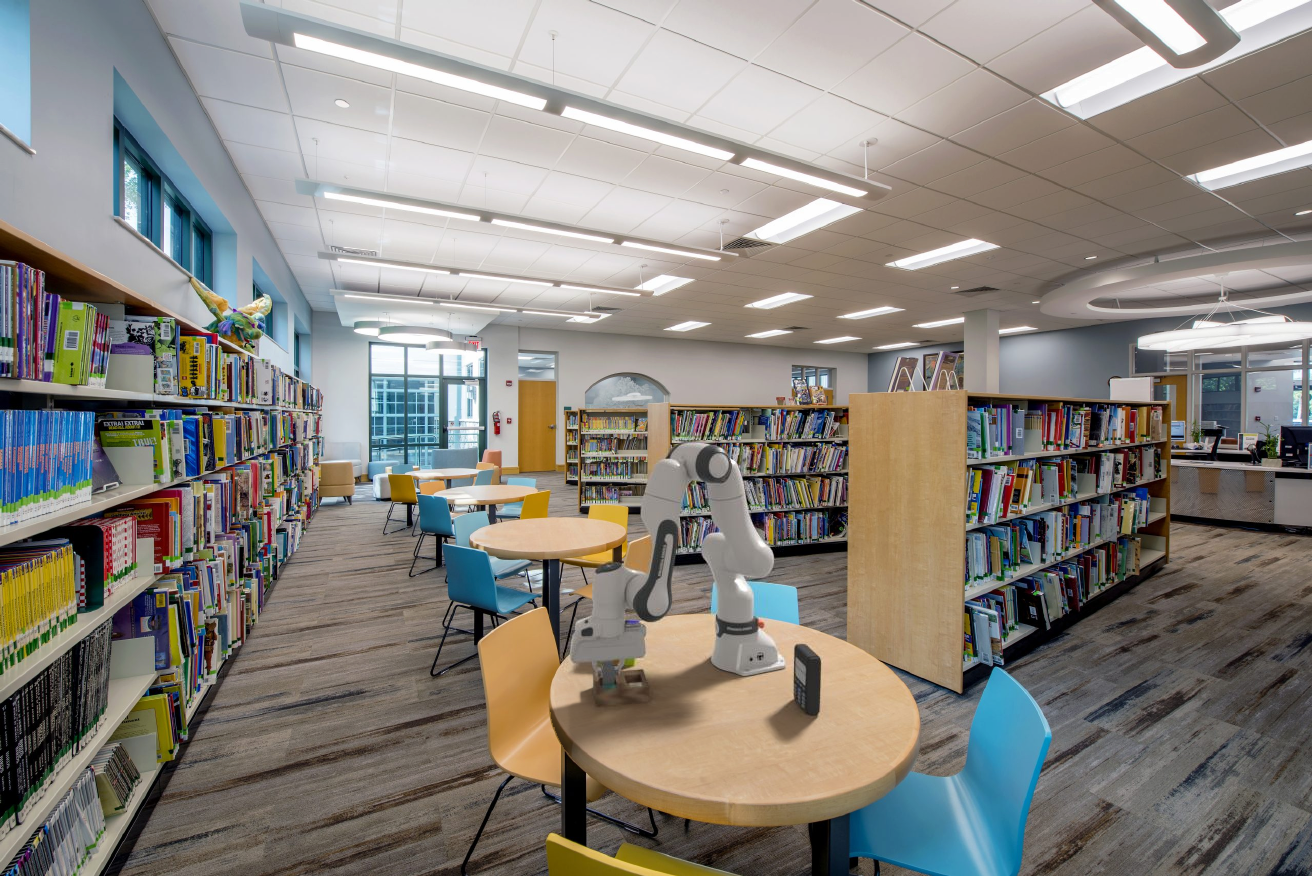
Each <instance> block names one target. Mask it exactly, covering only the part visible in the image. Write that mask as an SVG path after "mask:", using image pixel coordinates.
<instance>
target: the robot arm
mask: <svg viewBox="0 0 1312 876" xmlns="http://www.w3.org/2000/svg"><path fill="white" fill-rule="evenodd" d="M741 473H742V472H741V471H740V467H739V465H738V463H737V462H736V461H735V460H734V459H732V458H730V455H729V454H728V452H727V451H726V450H725V449H723V448H722V447H720V446H718V445H715V444H708V443H703V442H690V441H689V442H687V441H684V442H679V443H676V444H675V445H674V446H672V447H671V449H670V450H669V451H668V453H667V455H666V456H665V458H663V459H661V460H658V461H657V462H656V463H655V464H654V466H653V469H652V470H651V472H650V476H649V478H648V480H647V483H646V485H645V490H644V494H643V496H642V500H641V506H640V518H641V521H642V522H643V525H644V526H645V527H646V529H647V531H648V533H649V536H650V538H651V542H652V543H651V544H652V547H651V549H652V550H651V555H650V562H649V567H648V572H647V573H646V572H644V571H642V570H641V571H640V570H635V569H632V568H628V567H627V566H624V565H623V564H622V563H621V562H616V561H613V562H612V561H610V562H605V563H603V564H601V565H598V566H597V568H595V570H594V574H593V576H592V586H591V587H592V588H591V600H592V602H593V603H592V605H593V606H592V611H591V615H589V616H587V617H585V618H581V619H578V620H577V621H576V622H575V626H574V631H575V632H574V633H572V637H571V642H570V648H569V649H570V650H569V651H570V652H569V657H570V658H569V660H570V661H571V662H572V663H573V664H579V663H583V664H584V663H591V666H592V668H593V669H594V671H595V673H596V677H601V673H602V667H598V662H602V661H608V660H619V664H618V665H615V675H620V671H621V670H622V669H623V667H624V666H625V665H624V663H625V659H633V658H637V659H642V658H644V657H645V655H646V654H647V652H646V651H647V650H646V649H647V647H646V640H645V638H646V636H647V626H646V625H645V624H643V623H642V622H640V621H639V622H636V623H625V620H626V610H627V609H632V611H634V612H635V614H636V615H637V617H639V619H641V621H644V622H646V623H657V622H658V621H660V620H662V619H663V618H664V617H665V616H667V615H668V613H669V612H670V610H671V607H672V604H673V593H672V581H673V580H672V579H673V572H674V569H675V568H674V567H675V562H676V557H677V556H676V555H677V549H678V542H679V524H680V523H679V522H680V515H681V510H682V507H683V502H684V499H685V493H686V489H687V488H688V486H689V484H691V482H700V483H701V482H702V483H703V482H704V483H705V485H706V489H707V496H708V502H709V509H710V514H711V520H712V522H713V524H714V525H715V527H716V528H717V529H719V531H720V532H718V531H717V532H711V533H709V534H707V535H706V536H705V537H704V538H703V540H702V543H701V546H700V547H701V548H700V550H701V551H700V552H701V556H702V558H703V560H705V561H706V563H707V564H708V567H709V569H710V571H711V573H712V576H713V579H714V584H715V588H716V614H715V620H714V633H715V638H714V639H715V640H714V646H713V652H712V654H711V657H710V662H711V663H712V665H714V666H715V667H716V668H717V669H720V670H723V671H726V672H730V673H734V674H737V675H740V676H742V677H747V676H753V675H757V674H762V673H767V672H773V671H777V670H783V669H785V668H786V660H785V658H784V657H783V655H782V654H780V653H779V652H778V647H777V644H776V642H775V641H774V640H773V638H772V637H771V636H770V635H768V634H767V632H764V631H763V630H762V629H763V628H765V626H766V624H765V622H764V621H763V620H762V619H759V617H757V616H755V615H754V602H755V601H754V600H755V599H754V597H755V595H754V591H753V590H752V588H751V586H750V585H749V584H748V583H747V580H746V577H747V578H758V579H761V578H765V577H767V576H768V575H769V574H770V573H771V571H772V569H773V568H774V563H775V556H774V553H773V550H772V549H771V547H770V546H768V545H767V544H766V542H765V541H764V540H763V539H762V537H761V536H760V535H759V533H758V531H757V530H756V528H755V526H754V524H753V522H752V518H751V517H750V512H749V507H748V502H747V495H746V490H745V485H744V480H743V476H742V474H741Z"/></svg>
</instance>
